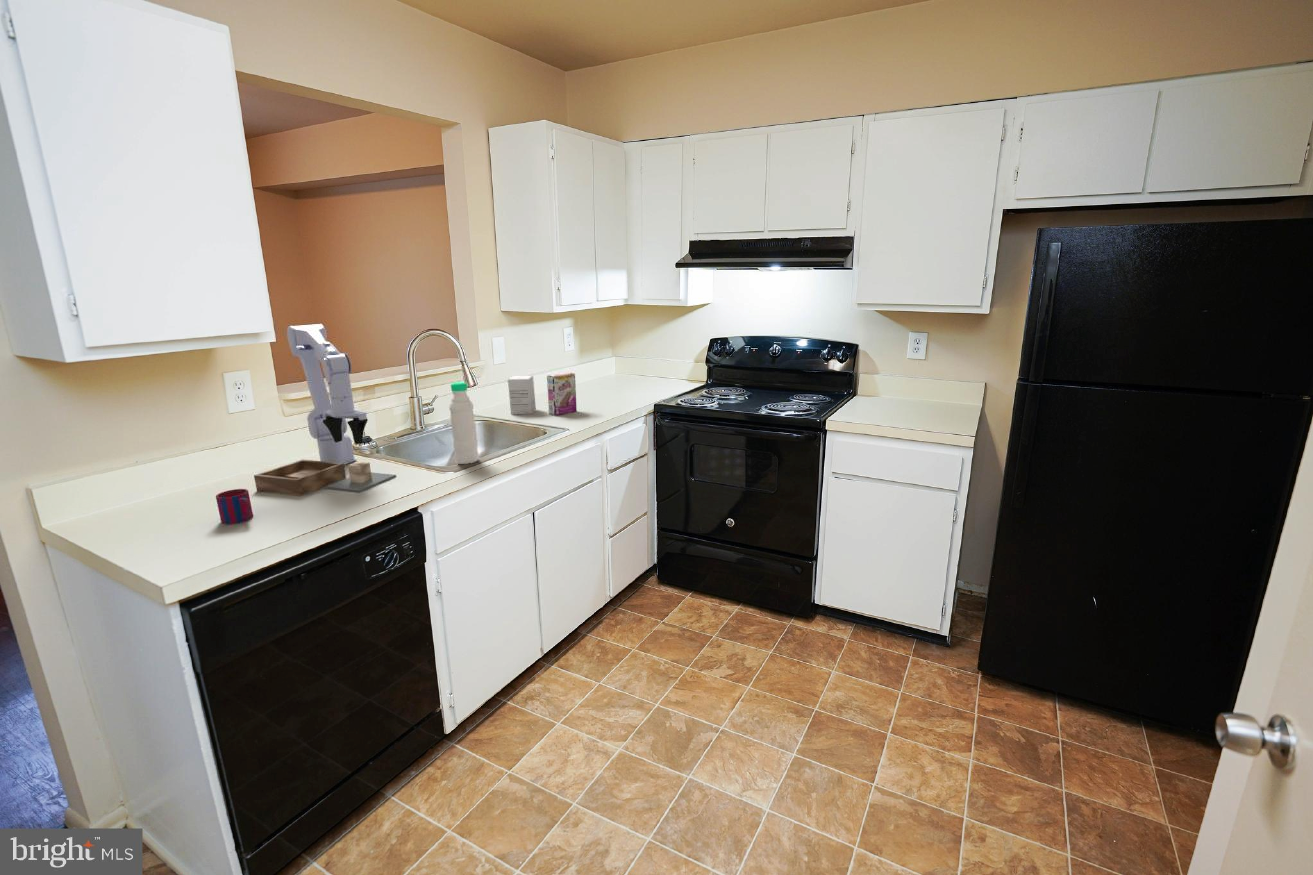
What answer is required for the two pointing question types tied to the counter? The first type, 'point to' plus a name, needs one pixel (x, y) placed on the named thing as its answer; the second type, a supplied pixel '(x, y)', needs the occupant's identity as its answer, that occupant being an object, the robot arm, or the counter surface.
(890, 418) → the counter surface
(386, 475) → the grey mat
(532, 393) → the supplement box
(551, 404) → the candy bar box
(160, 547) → the counter surface
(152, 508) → the counter surface
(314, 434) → the robot arm
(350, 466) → the birch block
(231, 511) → the mug
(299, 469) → the walnut crate
